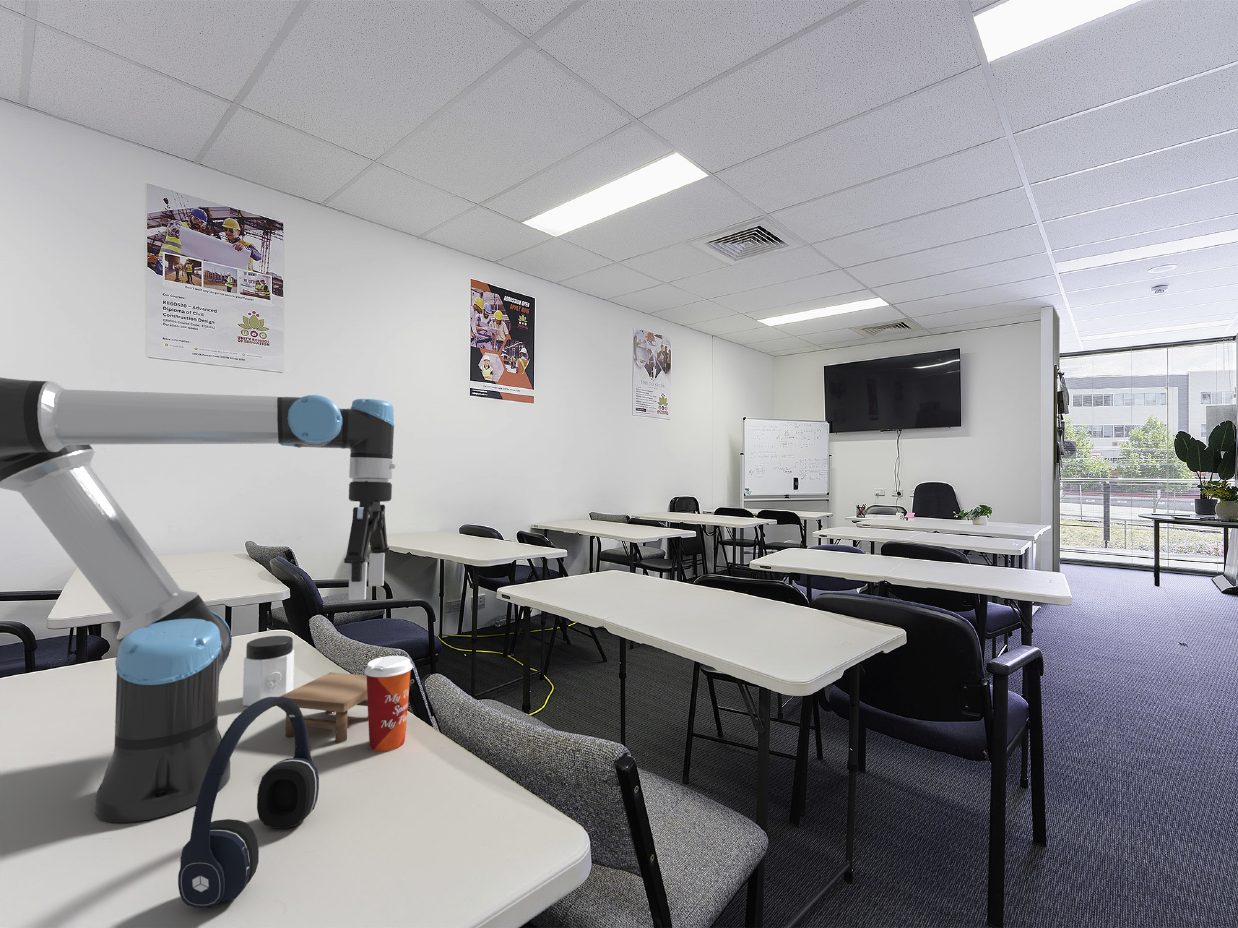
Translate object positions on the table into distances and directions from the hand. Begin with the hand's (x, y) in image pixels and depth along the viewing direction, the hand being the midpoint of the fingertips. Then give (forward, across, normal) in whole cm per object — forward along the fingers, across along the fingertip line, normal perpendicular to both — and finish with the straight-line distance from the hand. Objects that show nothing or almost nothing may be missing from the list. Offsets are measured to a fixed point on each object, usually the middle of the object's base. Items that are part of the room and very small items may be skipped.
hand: (367, 592), depth 107 cm
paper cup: (+24, -11, -7) cm, 27 cm away
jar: (+24, +13, +21) cm, 35 cm away
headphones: (+24, -39, +2) cm, 46 cm away
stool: (+24, -2, +4) cm, 24 cm away
